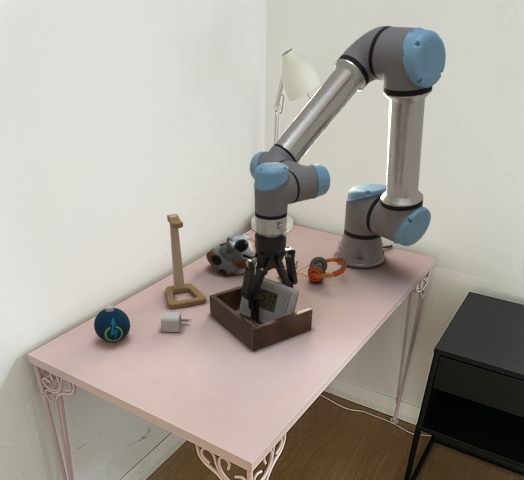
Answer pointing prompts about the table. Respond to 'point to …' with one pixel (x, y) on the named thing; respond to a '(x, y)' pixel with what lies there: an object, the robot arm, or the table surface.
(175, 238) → the headphone stand
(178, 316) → the usb wall charger
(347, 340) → the table surface
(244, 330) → the walnut rack
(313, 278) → the headphones
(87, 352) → the table surface
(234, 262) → the spotted toy animal
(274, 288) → the digital clock
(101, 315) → the christmas ornament
